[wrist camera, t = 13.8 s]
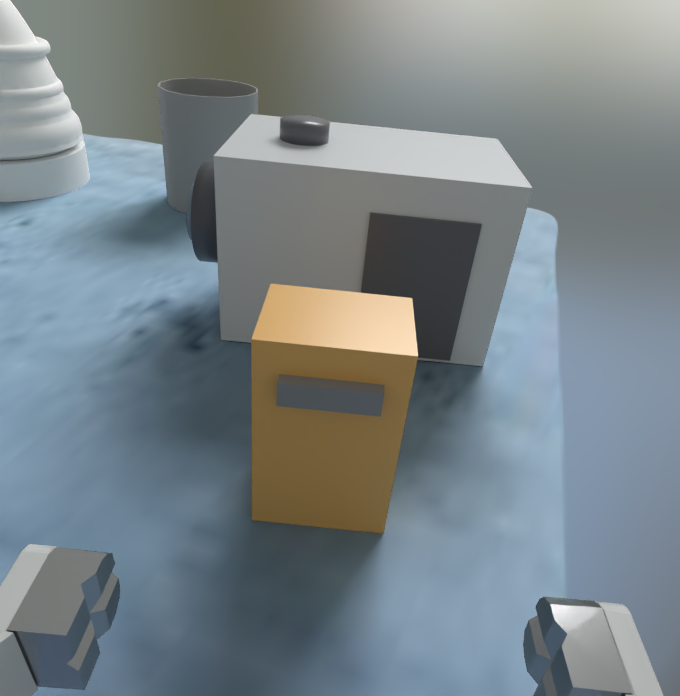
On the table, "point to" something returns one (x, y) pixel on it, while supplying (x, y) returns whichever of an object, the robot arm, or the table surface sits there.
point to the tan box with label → (329, 405)
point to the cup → (198, 126)
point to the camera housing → (362, 223)
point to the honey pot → (35, 119)
